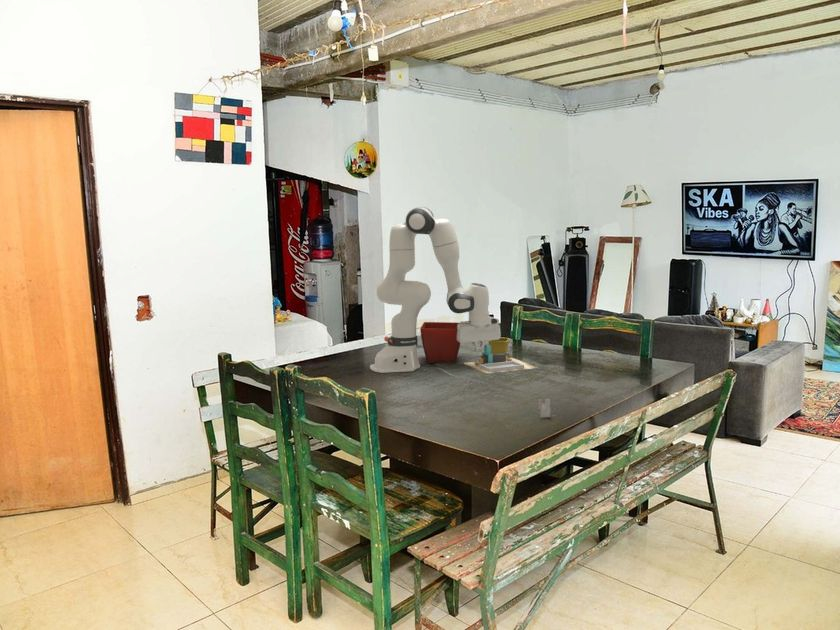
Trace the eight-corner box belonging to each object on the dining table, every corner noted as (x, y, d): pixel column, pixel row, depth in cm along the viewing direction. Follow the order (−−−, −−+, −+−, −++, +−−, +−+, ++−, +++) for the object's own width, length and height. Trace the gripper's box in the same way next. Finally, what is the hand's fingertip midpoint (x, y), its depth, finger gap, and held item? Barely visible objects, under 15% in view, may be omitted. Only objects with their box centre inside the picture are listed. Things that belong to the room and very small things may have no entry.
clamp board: (485, 376, 284) (485, 370, 283) (462, 365, 304) (462, 359, 304) (538, 370, 293) (538, 364, 293) (512, 360, 314) (512, 354, 313)
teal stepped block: (488, 365, 298) (488, 346, 296) (482, 362, 303) (482, 343, 302) (492, 364, 298) (492, 345, 297) (486, 362, 304) (486, 343, 302)
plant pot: (463, 356, 323) (463, 322, 320) (462, 365, 304) (462, 328, 301) (424, 356, 325) (423, 321, 322) (420, 365, 306) (419, 328, 303)
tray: (489, 372, 285) (489, 368, 285) (479, 368, 294) (479, 364, 293) (524, 368, 292) (524, 365, 292) (513, 364, 300) (513, 360, 300)
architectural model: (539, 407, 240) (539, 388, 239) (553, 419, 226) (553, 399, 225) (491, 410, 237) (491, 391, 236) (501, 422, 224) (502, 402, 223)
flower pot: (509, 356, 323) (509, 337, 322) (506, 360, 315) (507, 341, 313) (490, 355, 325) (491, 337, 324) (488, 359, 317) (488, 340, 315)
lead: (481, 365, 298) (481, 356, 297) (478, 364, 301) (478, 355, 300) (508, 362, 303) (508, 354, 302) (504, 361, 306) (504, 353, 305)
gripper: (460, 322, 289) (460, 354, 291) (502, 319, 296) (502, 350, 299) (454, 320, 295) (454, 351, 297) (495, 317, 302) (495, 347, 304)
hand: (478, 351), depth 298 cm, fingers closed
